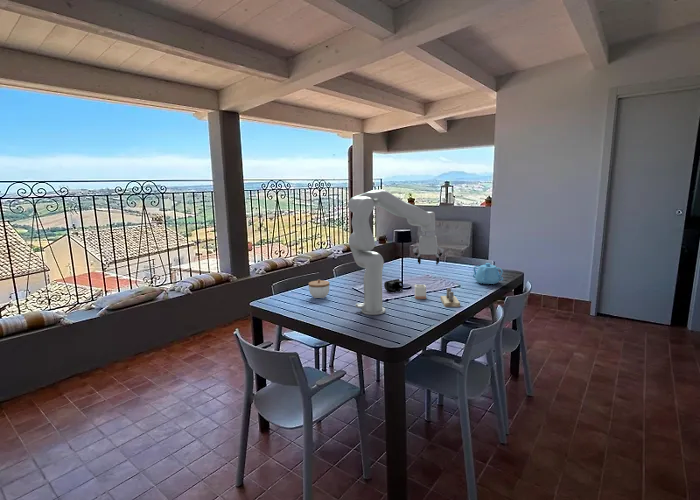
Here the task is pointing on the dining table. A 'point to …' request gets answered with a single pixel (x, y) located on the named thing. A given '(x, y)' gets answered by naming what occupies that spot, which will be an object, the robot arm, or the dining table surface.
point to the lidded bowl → (319, 288)
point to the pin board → (450, 304)
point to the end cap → (393, 285)
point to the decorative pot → (487, 274)
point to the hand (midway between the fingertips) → (428, 264)
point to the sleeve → (420, 291)
